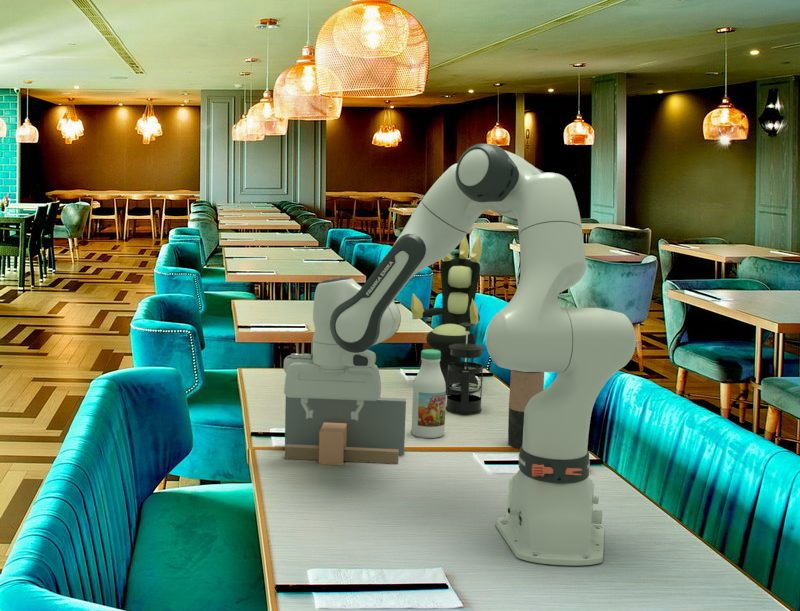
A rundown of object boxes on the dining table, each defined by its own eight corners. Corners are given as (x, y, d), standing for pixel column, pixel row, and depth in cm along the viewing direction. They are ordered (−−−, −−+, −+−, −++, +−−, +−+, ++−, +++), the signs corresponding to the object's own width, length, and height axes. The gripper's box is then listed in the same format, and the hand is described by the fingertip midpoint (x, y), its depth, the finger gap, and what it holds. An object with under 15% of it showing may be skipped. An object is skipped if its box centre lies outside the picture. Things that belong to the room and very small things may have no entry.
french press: (445, 404, 242) (449, 319, 239) (480, 405, 242) (484, 320, 239) (445, 415, 231) (449, 326, 227) (482, 417, 230) (486, 328, 227)
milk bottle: (405, 435, 212) (408, 351, 209) (420, 427, 219) (423, 346, 216) (435, 440, 209) (439, 355, 206) (449, 432, 216) (453, 350, 213)
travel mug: (539, 451, 204) (544, 363, 201) (505, 447, 205) (509, 361, 202) (541, 441, 211) (546, 357, 208) (508, 438, 213) (512, 354, 210)
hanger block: (342, 465, 189) (343, 432, 188) (318, 463, 190) (319, 431, 188) (346, 454, 196) (346, 423, 195) (323, 453, 196) (323, 422, 195)
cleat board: (402, 463, 191) (404, 408, 190) (280, 458, 192) (280, 402, 191) (404, 451, 200) (406, 398, 198) (286, 446, 201) (287, 393, 199)
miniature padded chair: (406, 391, 255) (411, 231, 249) (428, 375, 276) (434, 227, 269) (471, 398, 249) (479, 234, 243) (489, 382, 270) (497, 230, 264)
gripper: (281, 355, 186) (280, 421, 188) (381, 359, 186) (379, 425, 188) (286, 350, 193) (285, 413, 194) (382, 353, 192) (380, 417, 194)
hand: (332, 419), depth 191 cm, fingers open, 8 cm apart
